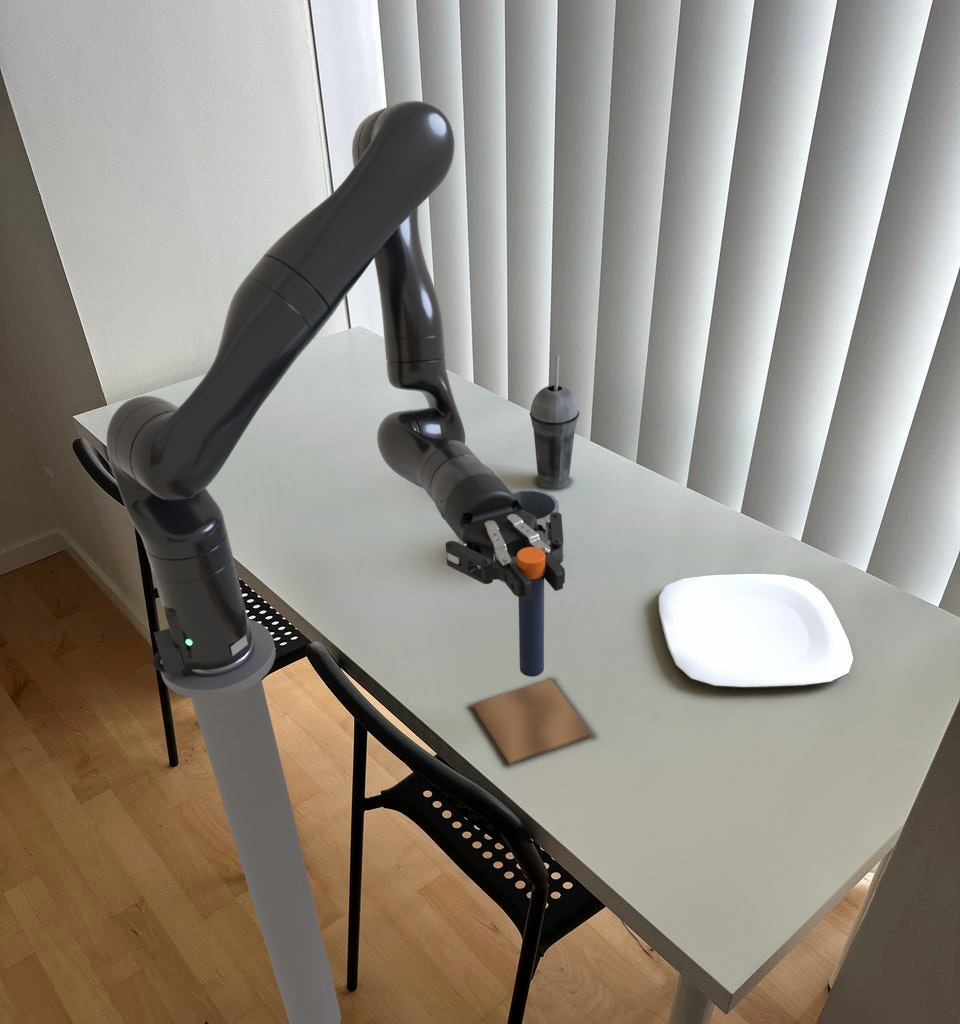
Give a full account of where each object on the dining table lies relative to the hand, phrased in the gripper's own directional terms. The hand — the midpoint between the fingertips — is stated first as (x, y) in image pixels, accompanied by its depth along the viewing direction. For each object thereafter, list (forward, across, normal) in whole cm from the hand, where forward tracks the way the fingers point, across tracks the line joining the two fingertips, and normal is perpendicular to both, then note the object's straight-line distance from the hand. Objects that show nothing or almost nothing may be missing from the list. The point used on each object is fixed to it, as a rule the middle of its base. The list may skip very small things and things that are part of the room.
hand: (544, 587), depth 96 cm
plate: (-5, +31, +21) cm, 38 cm away
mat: (-3, 0, +21) cm, 21 cm away
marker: (-3, 0, +13) cm, 13 cm away
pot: (-33, +14, +21) cm, 41 cm away
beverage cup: (-49, +26, +21) cm, 59 cm away
